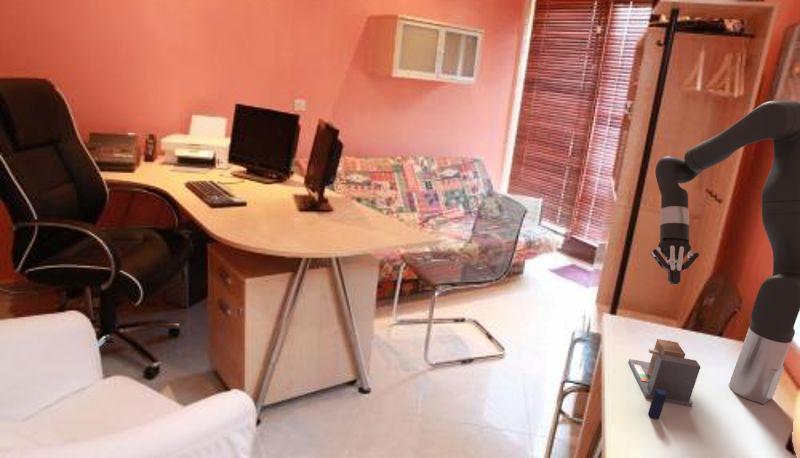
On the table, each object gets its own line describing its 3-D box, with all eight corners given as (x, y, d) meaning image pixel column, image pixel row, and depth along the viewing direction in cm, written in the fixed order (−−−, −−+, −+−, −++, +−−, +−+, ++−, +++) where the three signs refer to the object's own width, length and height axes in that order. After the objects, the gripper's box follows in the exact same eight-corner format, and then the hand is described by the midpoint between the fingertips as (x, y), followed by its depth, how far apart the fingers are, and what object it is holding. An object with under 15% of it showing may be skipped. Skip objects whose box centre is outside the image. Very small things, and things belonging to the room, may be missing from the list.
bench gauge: (628, 362, 149) (638, 326, 145) (669, 369, 148) (680, 333, 144) (645, 398, 133) (657, 359, 129) (691, 406, 132) (705, 367, 128)
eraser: (656, 414, 127) (664, 389, 125) (659, 420, 125) (667, 395, 123) (647, 412, 127) (654, 387, 125) (650, 418, 125) (657, 393, 123)
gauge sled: (638, 370, 142) (648, 337, 139) (666, 376, 142) (677, 342, 138) (644, 383, 137) (655, 349, 134) (674, 389, 136) (685, 354, 133)
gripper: (655, 219, 153) (654, 280, 149) (704, 223, 151) (704, 285, 148) (646, 225, 160) (645, 283, 157) (693, 229, 158) (693, 287, 155)
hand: (674, 284), depth 152 cm, fingers closed
